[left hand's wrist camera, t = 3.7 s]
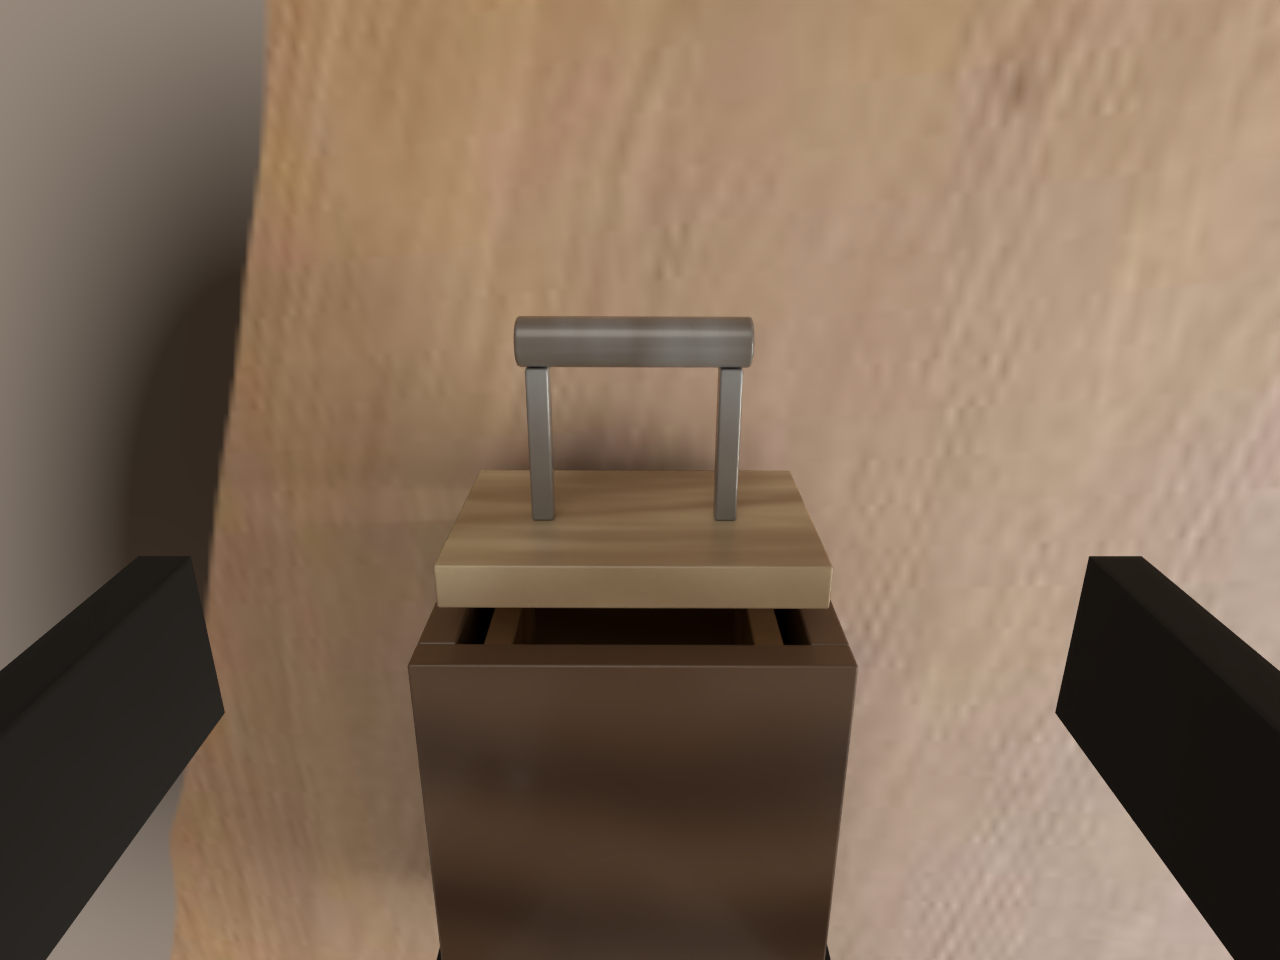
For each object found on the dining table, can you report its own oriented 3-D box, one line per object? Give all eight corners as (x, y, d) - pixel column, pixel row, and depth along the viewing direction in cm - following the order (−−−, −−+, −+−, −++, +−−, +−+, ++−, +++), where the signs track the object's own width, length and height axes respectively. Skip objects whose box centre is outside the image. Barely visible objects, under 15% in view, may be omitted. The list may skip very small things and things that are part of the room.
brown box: (471, 519, 29) (406, 665, 21) (798, 520, 29) (859, 666, 21) (500, 891, 35) (458, 1114, 27) (769, 892, 35) (807, 1116, 27)
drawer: (467, 292, 25) (411, 342, 19) (802, 293, 25) (855, 343, 19) (506, 844, 33) (475, 1007, 27) (762, 845, 33) (791, 1007, 27)
